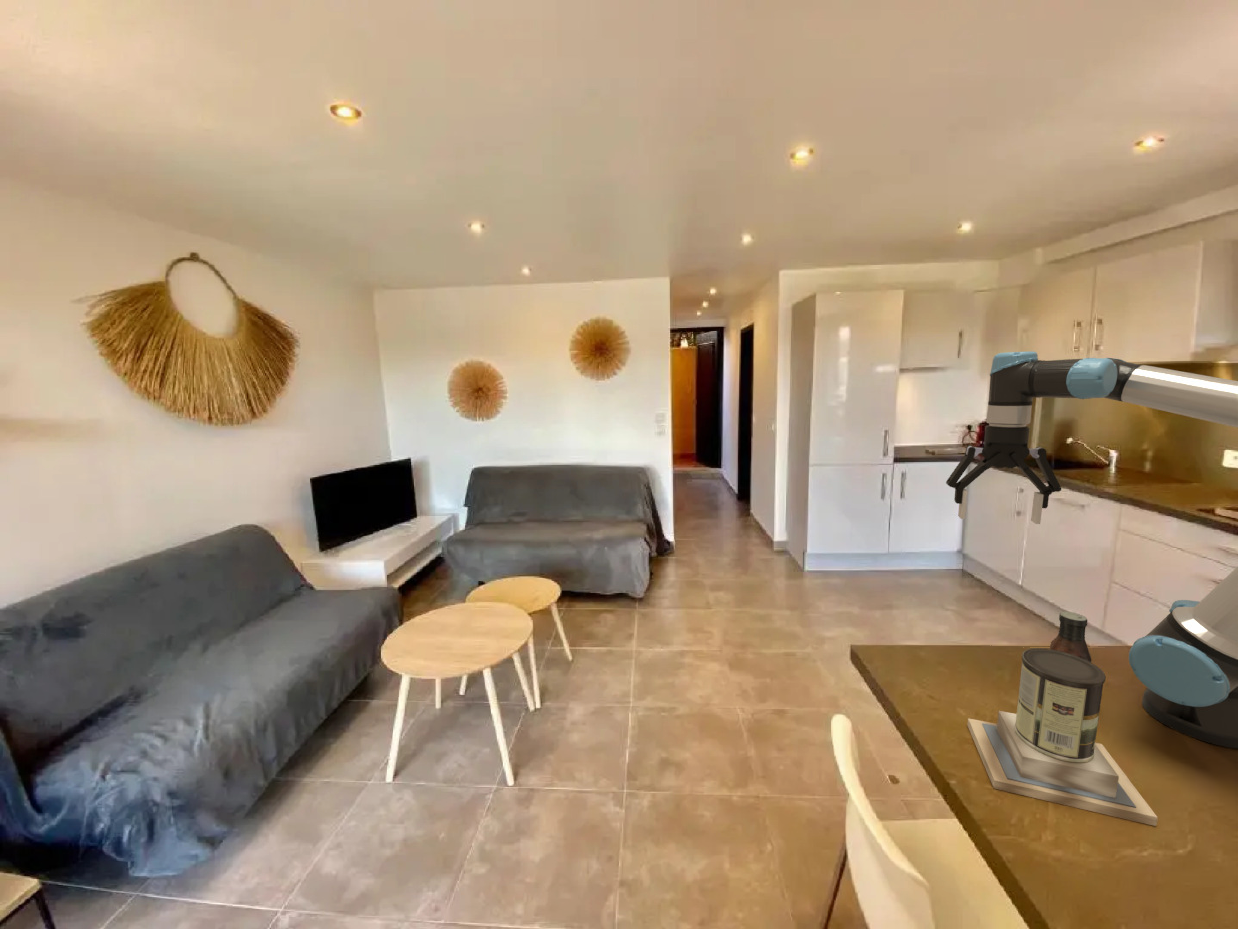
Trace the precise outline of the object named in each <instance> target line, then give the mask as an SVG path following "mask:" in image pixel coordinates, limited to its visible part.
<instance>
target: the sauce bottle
mask: <svg viewBox="0 0 1238 929" xmlns="http://www.w3.org/2000/svg"><path fill="white" fill-rule="evenodd" d="M1058 621H1059V630H1058V634H1057V636H1056V637H1055V638H1054V639H1053V640H1051V642H1050V645H1049V649H1052V650H1057V651H1061V652H1065V653H1069V654H1072V655H1075V656H1078V657H1080V658H1083V659H1085V660H1087V661H1089V662H1091V663H1092V656H1091V653H1090V651H1089V647H1088V645H1087V642H1086V637H1085V636H1086V627H1088V618H1087V617H1086V616H1084V615H1082V614H1079V613H1075V612H1071V611H1061V612H1060V613H1059V617H1058Z"/></svg>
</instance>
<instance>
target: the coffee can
mask: <svg viewBox="0 0 1238 929" xmlns="http://www.w3.org/2000/svg"><path fill="white" fill-rule="evenodd" d="M1021 660H1022V661H1021V669H1020V670H1021V672H1020V680H1019V681H1020V682H1019V689H1018V699H1017V707H1016V714H1017V715H1016V723H1015V732H1016V734H1017V735H1018V736H1019V737H1020V739H1021V740H1023V741H1024V742H1025V743H1026V744H1027V745H1029V746H1030V747H1032V748H1034V749H1035V750H1037V751H1039V752H1041V753H1043V754H1045V755H1048V756H1050V757H1053V758H1056V759H1059V760H1063V761H1068V762H1075V763H1083V762H1088V761H1090V760H1092V759H1093V757H1094V747H1095V743H1096V740H1097V732H1098V730H1097V729H1098V726H1099V725H1098V723H1099V717H1100V709H1101V703H1102V696H1103V689H1104V684H1105V681H1106V677H1107V676H1106V673H1105V672H1104V671H1103V669H1101V668H1100V667H1098V666H1097V665H1096V664H1094V663H1093V662H1092V661H1091V662H1089V661H1087V660H1085V659H1083V658H1080V657H1078V656H1075V655H1072V654H1069V653H1065V652H1061V651H1057V650H1052V649H1050V648H1039V647H1037V648H1036V647H1035V648H1034V647H1033V648H1028V649H1025V650H1024V651H1022V653H1021Z"/></svg>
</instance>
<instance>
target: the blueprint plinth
mask: <svg viewBox="0 0 1238 929" xmlns="http://www.w3.org/2000/svg"><path fill="white" fill-rule="evenodd" d="M1016 715H1017V713H1012V712H1008V711H1003V710H998V713H997V723H994V722H988V721H985V720H979V719H973V718H967V728H968V730H969V733H970V735H971V737H972V740H973V742H974V745H975V746H976V749H977V752H978V754H979V756H980V760H981V762H982V763H983V766H984V768H985V771H986V774H987V776H988V779H989V781H990V783H991V785H992V786H991V787H992V788H993V789H995V790H997V791H1004V792H1008V793H1012V794H1015V795H1016V794H1017V795H1019V796H1025V797H1027V798H1028V797H1029V798H1033V799H1038V800H1042V801H1047V802H1051V803H1055V804H1060V805H1063V806H1068V807H1072V808H1077V809H1081V810H1084V811H1085V810H1086V811H1090V812H1092V813H1093V812H1094V813H1098V814H1102V815H1107V816H1110V817H1115V818H1119V819H1123V820H1128V821H1131V822H1137V823H1141V824H1146V825H1149V826H1153V827H1157V825H1158V824H1157V823H1158V818H1159V817H1158V816H1157V815H1156V813H1155V812H1154V811H1153V809H1152V808H1151V807H1150V805H1149V804H1148V802H1147V801H1146V800H1145V799H1144V797H1142V795H1141V794H1140V792H1139V791H1138V789H1137V788H1136V787H1135V786H1134V784H1133V783H1132V782H1131V781H1130V779H1129V777H1128V776H1127V774H1126V773H1125V772H1124V771H1123V770H1122V769H1121V767H1120V765H1119V764H1118V763H1117V762H1116V761H1115V759H1114V758H1113V757H1112V756H1111V754H1110V753H1109V752H1108V750H1107V749H1106V747H1105V746H1104V745H1103V744H1102V743H1098V742H1095V747H1094V757H1093V759H1092V760H1090V761H1088V762H1083V763H1075V762H1068V761H1063V760H1059V759H1056V758H1053V757H1050V756H1048V755H1045V754H1043V753H1041V752H1039V751H1037V750H1035V749H1034V748H1032V747H1030V746H1029V745H1027V744H1026V743H1025V742H1024V741H1023V740H1021V739H1020V737H1019V736H1018V735H1017V734H1016V732H1015V723H1016Z"/></svg>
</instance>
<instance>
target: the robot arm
mask: <svg viewBox="0 0 1238 929" xmlns="http://www.w3.org/2000/svg"><path fill="white" fill-rule="evenodd" d="M989 379H990V380H989V388H988V389H989V390H988V391H989V393H988V402H987V409H986V410H987V412H986V421H985V422H986V423H987V424H988V425H986V426H985V427H984V428H985V430H984V441H983V445H982V447H976V446H972V445H967V446H966V448H965V452H964V456H963V457H962V458H961V460H960V462H959V463H958V464H957V466H956V467H955V468H954V470H953V471H952V473H951V474H950V475H949V477H948V478H947V480H946V481H945V484H946V485H947V486H949V488H953V489H954V502H955V504H958V514H957V516H958V518H959V519H961V520H965V519H966V513H967V512H966V511H967V501H968V492H969V491H968V490H967V489H966V487H968V486H969V485H971V483H973V482H974V481H975V480H976V479H977V478H978V477H980V476H981V475H982V474H983V473H984V472H985V471H987V470H989V469H990V468H991V467H994V468H996V469H999V468H1000V469H1001V468H1007V469H1014V468H1016V467H1017V469H1018V470H1020V472H1022V473H1023V474H1024V476H1025V477H1027V479H1028V480H1029V481H1030V482H1031V484H1033V485H1034V487H1035V488H1037V490H1038V491H1034V492H1033V499H1032V510H1031V518H1030V519H1031V520H1030V521H1031V522H1032V523H1034V524H1035V525H1041V520H1042V512H1043V511H1042V510H1043V509H1047V508H1048V506H1049V497H1050V495H1052V493H1058V492H1061V491H1062V487H1061V485H1060V483H1059V481H1058V479H1057V477H1056V475H1055V473H1054V471H1053V469H1052V466H1051V465H1050V463H1049V461H1048V459H1047V449H1045V448H1044V447H1041V446H1036V447H1034V448H1029V447H1028V446H1029V436H1030V427H1029V426H1028V425H1029V424H1031V419H1032V407H1033V406H1032V405H1033V400H1034V398H1035V399H1036V398H1039V399H1040V398H1047V399H1048V398H1049V399H1050V398H1055V399H1056V398H1057V399H1080V400H1087V399H1102V398H1104V399H1108V400H1112V401H1118V402H1123V403H1129V404H1132V405H1137V406H1142V407H1146V408H1150V409H1154V410H1158V411H1164V412H1168V413H1172V414H1175V415H1180V416H1181V415H1182V416H1185V417H1189V418H1193V419H1196V420H1197V419H1198V420H1202V421H1207V422H1210V423H1215V424H1220V425H1223V426H1228V427H1232V428H1237V429H1238V380H1233V379H1227V378H1220V377H1215V376H1209V375H1204V374H1197V373H1193V372H1186V371H1179V370H1176V369H1175V370H1174V369H1169V368H1164V367H1157V366H1152V365H1145V364H1139V363H1133V362H1127V361H1126V360H1123V359H1119V358H1116V357H1115V358H1112V357H1106V358H1104V357H1101V358H1099V357H1098V358H1097V357H1083V358H1071V359H1070V358H1068V359H1055V360H1054V359H1053V360H1043V359H1042V360H1040V359H1039V357H1038V353H1037V352H1036V351H1032V350H1031V351H1012V352H1011V351H1009V352H998V353H997V354H995V355H994V356H993V358H992V362H991V369H990V373H989ZM979 454H981V455H982V456H983V459H981V460H980V461H979V462H978V464H977V465H976V466H975V467H973V469H971V470H970V471H969V472H968V473H967V474H966V475H964V476H963V474H964V473H965V472H966V470H967V469H968V467H969V466H970V465H971V463H972V461H973V460H974V458H976V457H977V456H978V455H979ZM1030 455H1031V457H1032V458H1033V459H1035V461H1036V463H1037V465H1038V468H1039V469H1040V471H1041V473H1042V475H1043V477H1044V479H1045V481H1046V483H1047V485H1046V484H1045V483H1044V482H1043V481H1042V480H1041V479H1040V477H1039V476H1037V474H1036V473H1035V472H1034V471H1033V470H1032V469H1031V468H1030V466H1029V465H1028V464H1027V462H1025V461H1024V460H1026V458H1027V457H1028V456H1030ZM962 476H963V477H962ZM961 477H962V478H961ZM960 478H961V479H960ZM1168 612H1169V613H1168V615H1166V616H1165V618H1163V619H1162V620H1161V621H1160V622H1159V623H1158V624H1157V625H1156V626H1155V627H1154V628H1152V630H1151V631H1149V633H1147V634H1146V635H1145V636H1142V637H1140V638H1138V639H1136V640H1135V641H1134V642H1133V644H1132V646H1131V647H1130V649H1129V652H1128V662H1129V665H1130V668H1131V669H1132V672H1133V673H1134V675H1135V677H1136V678H1137V679H1138V680H1139V681H1140V682H1141V684H1143V685H1144V686H1145V687H1146V688H1145V690H1144V692H1143V695H1142V702H1141V705H1142V707H1143V709H1144V710H1145V711H1146V712H1147V713H1148V714H1149V715H1150V716H1152V717H1153V718H1154V719H1155V720H1157V721H1158V722H1160V723H1161V724H1163V725H1165V726H1166V727H1169V728H1170V729H1173V730H1175V731H1177V732H1179V733H1181V734H1184V735H1186V736H1188V737H1191V738H1194V739H1197V740H1199V741H1203V742H1206V743H1209V744H1212V745H1217V746H1220V747H1225V748H1229V749H1238V566H1236V567H1235V568H1234V569H1233V570H1232V571H1231V572H1230V573H1228V574H1227V576H1226V577H1225V578H1224V579H1223V580H1221V581H1220V582H1219V584H1217V585H1216V586H1215V587H1214V588H1212V590H1211V591H1210V592H1209V593H1207V595H1205V596H1204V597H1203V598H1202V599H1201V600H1200V601H1197V600H1188V599H1179V600H1178V599H1177V600H1175V601H1173V603H1172V604H1171V608H1170V609H1169V610H1168Z"/></svg>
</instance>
